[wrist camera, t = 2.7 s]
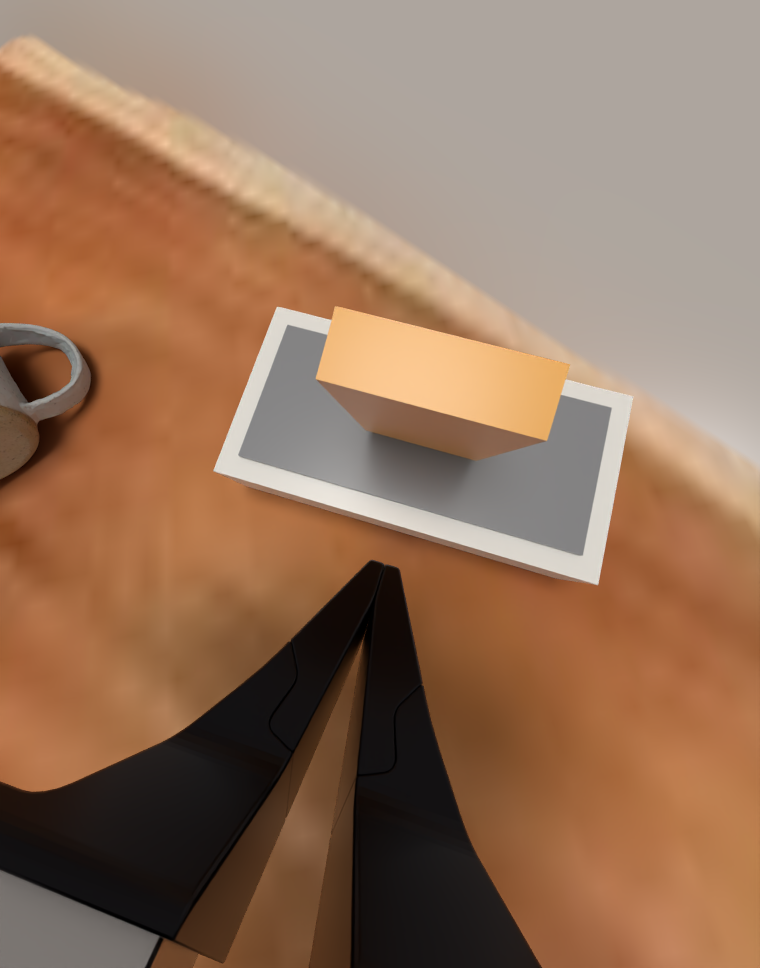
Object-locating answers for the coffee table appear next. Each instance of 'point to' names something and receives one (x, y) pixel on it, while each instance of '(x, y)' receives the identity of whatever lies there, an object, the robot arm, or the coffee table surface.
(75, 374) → the ceramic mug
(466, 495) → the breaker housing
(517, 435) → the lever
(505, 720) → the coffee table surface
